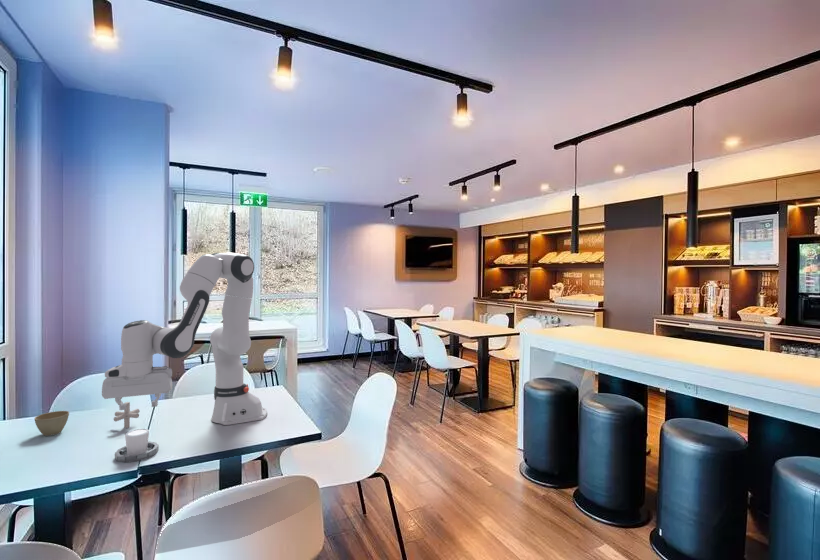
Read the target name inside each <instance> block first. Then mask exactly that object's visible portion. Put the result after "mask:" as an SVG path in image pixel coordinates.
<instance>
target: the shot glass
mask: <svg viewBox="0 0 820 560" xmlns="http://www.w3.org/2000/svg"><path fill="white" fill-rule="evenodd" d="M149 435H150V430H149V429H147V428H140V429H139V428H138V429H133V430H130V431H128V432H126V433H125V437H124V438H125V444H126V445H125V446H126V448H127V455H128V456H130V455H138V454H141V453H145V452H146V451H147V446H148V442H149Z"/></svg>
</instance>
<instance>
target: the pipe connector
mask: <svg viewBox="0 0 820 560" xmlns="http://www.w3.org/2000/svg"><path fill="white" fill-rule="evenodd" d="M125 403H126V409H125V410H123V411H115V412H114V417H113V422H119V421H121V420H123V419H124V420H123V421H124V423H123V428H125V429H128V428H130V426H131V419H130V418H132V419H137V418H140V417H139V416H140V414H139V413H140V409H139V408H135V409H132V410H130V409H131V408H130V406H131V401H127V402H126V401H125V402H123V404H125Z"/></svg>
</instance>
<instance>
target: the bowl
mask: <svg viewBox="0 0 820 560" xmlns="http://www.w3.org/2000/svg"><path fill="white" fill-rule="evenodd" d="M159 447H160V446H159V444H158V443H157V442H156V441H148V446H147V451H146V452H145V453H141V454H138V455H130V456H128V455H127V448H126V445H124V446H122V447H121V448H119V449H117V450H116V452H114V459H115V461H116V462H117V463H118V462H119V463H134V462H139V461H142V460H146V459H149V458H151V457H153V456H154V455H156V454H157V453H158V452H159Z"/></svg>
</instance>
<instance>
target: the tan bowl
mask: <svg viewBox="0 0 820 560" xmlns="http://www.w3.org/2000/svg"><path fill="white" fill-rule="evenodd" d="M69 416H70V412H69V411H67V410H56V411H50V412H45V413H42V414H39V415H36V416H35V417H34V423H35V426H36V428H37V429H38V431H39V432H40V434H41V435H43V436H44V437H50V436H54V435H58V434H60V433H61V432H62V431H63V429H64V428H65V426H66V424H67V421H69Z"/></svg>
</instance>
